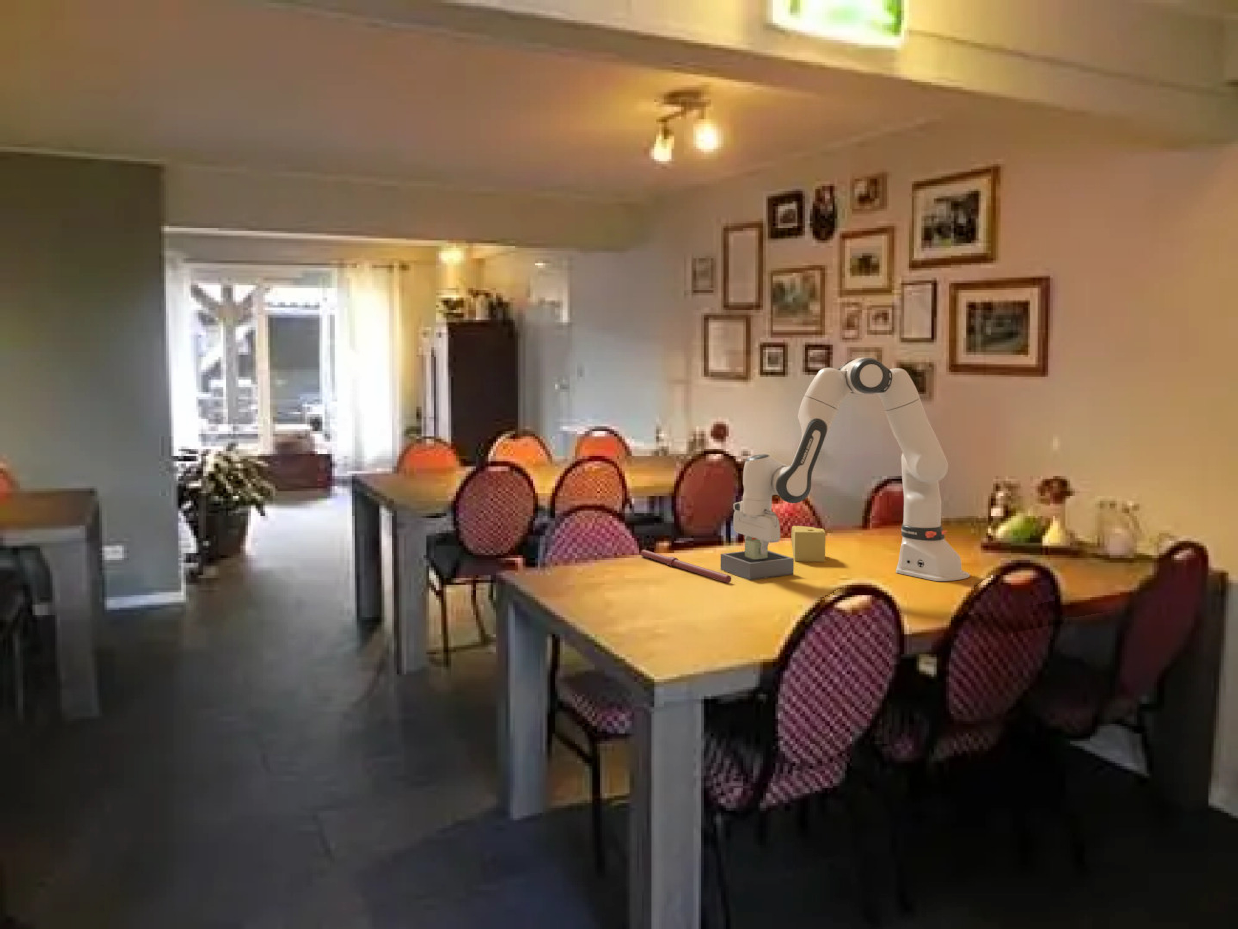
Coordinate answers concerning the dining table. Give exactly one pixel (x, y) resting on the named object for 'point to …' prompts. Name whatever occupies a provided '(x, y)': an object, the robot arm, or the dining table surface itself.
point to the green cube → (754, 549)
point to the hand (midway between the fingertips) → (756, 551)
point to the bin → (757, 565)
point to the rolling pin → (687, 566)
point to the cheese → (808, 544)
